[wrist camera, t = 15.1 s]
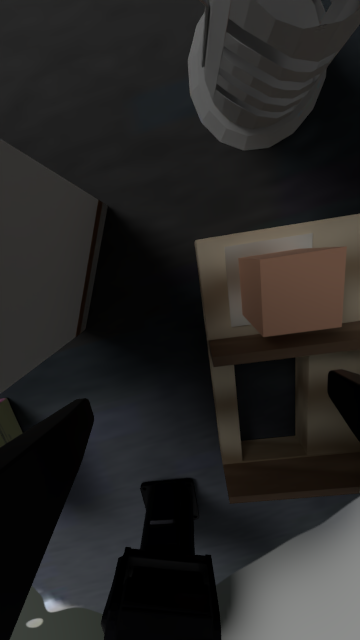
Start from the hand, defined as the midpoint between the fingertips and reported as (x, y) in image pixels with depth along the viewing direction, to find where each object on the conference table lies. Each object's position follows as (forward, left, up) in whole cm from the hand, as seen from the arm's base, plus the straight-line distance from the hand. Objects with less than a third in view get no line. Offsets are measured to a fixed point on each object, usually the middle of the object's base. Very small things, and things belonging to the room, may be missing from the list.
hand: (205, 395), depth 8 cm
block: (+2, -6, -10) cm, 12 cm away
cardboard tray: (-5, -10, -13) cm, 17 cm away
